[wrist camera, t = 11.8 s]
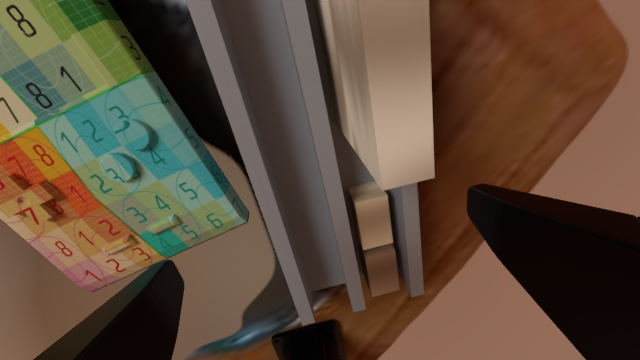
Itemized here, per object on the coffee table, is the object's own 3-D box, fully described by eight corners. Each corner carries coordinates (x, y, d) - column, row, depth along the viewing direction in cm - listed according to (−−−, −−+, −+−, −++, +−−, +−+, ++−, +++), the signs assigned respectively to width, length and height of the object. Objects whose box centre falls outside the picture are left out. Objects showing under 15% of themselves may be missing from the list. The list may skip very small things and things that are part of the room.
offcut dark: (388, 267, 25) (399, 290, 22) (363, 273, 25) (372, 297, 22) (383, 230, 23) (395, 250, 21) (356, 236, 23) (365, 258, 21)
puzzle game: (83, 303, 19) (-365, -61, 10) (119, 255, 23) (-172, -31, 14) (246, 231, 18) (-81, -236, 9) (252, 194, 22) (33, -149, 13)
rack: (406, 254, 26) (429, 293, 22) (298, 281, 26) (302, 325, 22) (374, -85, 16) (407, -129, 11) (190, -44, 15) (159, -74, 11)
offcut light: (383, 225, 23) (393, 242, 21) (355, 232, 23) (363, 250, 21) (377, 180, 21) (387, 195, 19) (347, 188, 21) (354, 203, 19)
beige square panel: (367, 118, 19) (434, 177, 11) (337, 126, 19) (382, 190, 11) (344, -53, 15) (424, -163, 7) (306, -44, 15) (339, -144, 7)
